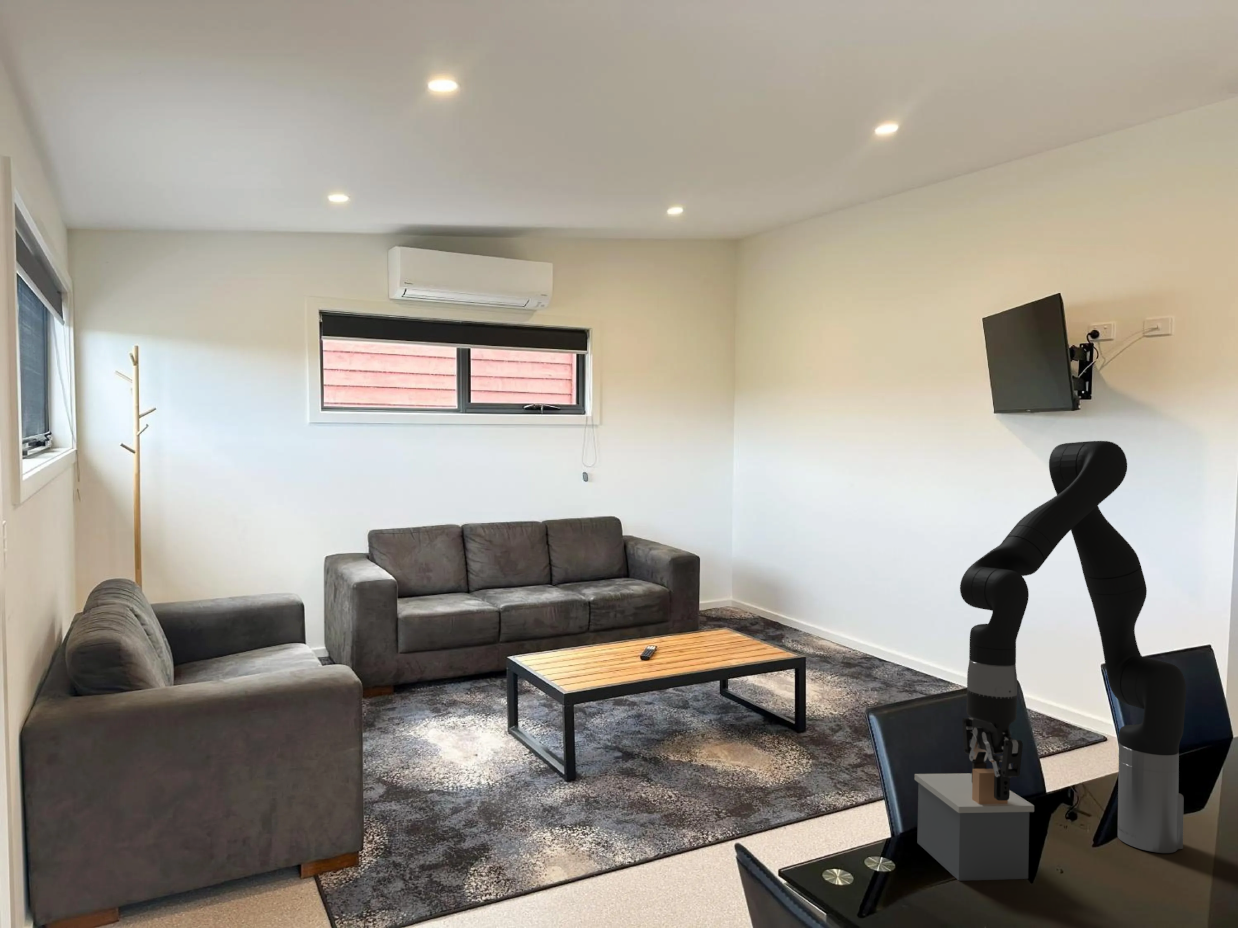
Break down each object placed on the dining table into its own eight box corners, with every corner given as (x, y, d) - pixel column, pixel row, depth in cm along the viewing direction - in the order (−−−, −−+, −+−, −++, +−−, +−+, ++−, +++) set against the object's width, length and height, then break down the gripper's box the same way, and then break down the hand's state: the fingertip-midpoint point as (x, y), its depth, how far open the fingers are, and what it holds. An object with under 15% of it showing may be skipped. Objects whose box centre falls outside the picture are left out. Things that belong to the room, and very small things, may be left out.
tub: (980, 841, 148) (981, 779, 148) (1028, 878, 134) (1029, 810, 134) (917, 842, 146) (918, 780, 146) (958, 880, 132) (960, 811, 133)
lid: (982, 785, 148) (983, 745, 149) (1033, 819, 134) (1034, 774, 134) (914, 786, 147) (915, 745, 147) (958, 820, 132) (959, 775, 132)
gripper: (1040, 700, 129) (1038, 808, 128) (988, 678, 143) (986, 776, 142) (995, 700, 128) (993, 809, 127) (947, 678, 142) (945, 776, 142)
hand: (989, 791), depth 135 cm, fingers open, 6 cm apart
